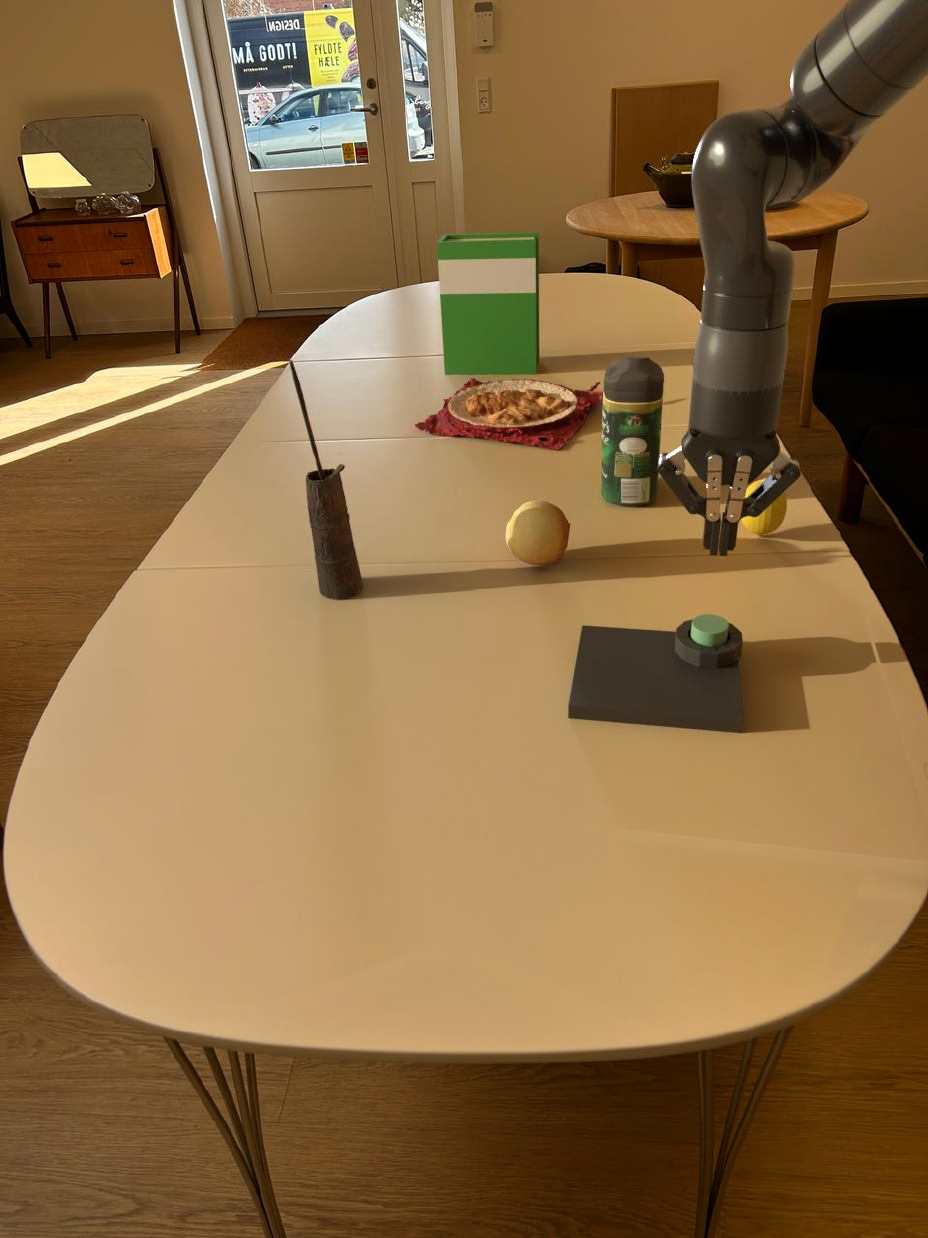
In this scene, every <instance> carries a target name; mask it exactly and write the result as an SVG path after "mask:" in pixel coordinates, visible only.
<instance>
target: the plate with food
mask: <svg viewBox="0 0 928 1238" xmlns="http://www.w3.org/2000/svg"><path fill="white" fill-rule="evenodd" d="M599 385H601V381H598V382H595V383H594V385H592V386H590V388H589V389H587V391H586V390H580V389H579V390H578V389H575V390H574V391H573V388H570V387H567V386H565V385H562V384H556V383H552V382H548V381H543V380H540V379H538V380H535V379H531V378H530V379H528V378H527V379H525V378H524V379H521V378H520V379H516V378H515V379H506V380H494V381H491V380H489V381H487V382H483V381H479V380H476V378H475V377H471V378H470V380H467V382H466V383H464V385H463V386H462V387H461V388H460V389H458V390H456V391H455V393H453V395H452V396H450V397H448V398H443V402H444V403H443V405H442V408H441V409H440V410H439V411H438V412H437V413H434V414H433V413H432V414H429V415H428V417H427V418H426V419H425V418H424V419H423V421H420V422H417V423H416V424H415V423H414V427H415V428H417V429H418V430H420V432H423V431H424V430H425V432H426V433H427V432H428V435H439V436H444V437H452V438H453V437H454V436H461V437H466V438H480V439H484V440H488V441H489V440H490V441H491V440H493V441H496V442H500V443H505V444H506V443H517V444H519V445H520V446H525V445H526V446H532V447H534V446H536V447H538V448H543V449H545V450H548V449H549V450H553V451H557V450H561V449H562V447H563V446H564V445H566V443H567V441H568V440H570V439H571V438H572V437H573V435H574V434H575V433H576V432H577V430H578V429H579V428H581V426H582V425H583V424H584V422H585V420H586V417H587V414H586V413H584V412H583V411H589V410H590V409H596V407H597V406H598V405H599V404H600V402H601V398H603V390H602V391H595V390H596V389H597V388H598V386H599ZM593 391H594V392H593ZM590 392H592V393H590ZM540 438H546V440H541V439H540Z"/></svg>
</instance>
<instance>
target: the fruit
mask: <svg viewBox="0 0 928 1238" xmlns="http://www.w3.org/2000/svg"><path fill="white" fill-rule="evenodd" d="M570 530H571V522H569V519H567V517H566V515H565V513H564V511H563V510H562V509H561V508H560V507H558V506H557V505H556V504H553V503H551V502H550V501H544V500H530V501H526V502H524V503H523V504H521V506H520V507H518V508H517V509H516V510H515V511H514V513H513V514H512V517H511V518H510V519H509V520H508V522H507V525H506V529H505V543H506V545H507V547H508V549H509V550H510V552H511V553H512V555H514V557H515V558H516V559H518V560H519V561H521V562H523V563H526V564H528V565H532V566H546V565H548V566H549V565H551V564H552V565H553V564H554V565H555V564H556V562H557V561H558V562H559V561H560V559H561V558H562V557H563V556H564V555H565V553H566V550H567V548H568V545H569V540H570V539H569V538H570Z"/></svg>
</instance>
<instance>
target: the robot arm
mask: <svg viewBox="0 0 928 1238" xmlns="http://www.w3.org/2000/svg"><path fill="white" fill-rule="evenodd" d="M927 78H928V0H847V1H846V3H844V5H843V6H841V8H840V9H839V10H838V11H837V12H836V13H835V14H834V15H833V16H832V18H830V20H828V21H827V23H826V24H825V25H824V26H823V27H822V28H821V29H820V30H819V31H818V32H817V34H815V35H814V36H813V38H812V39H811V40H810V41H809V42H808V43H807V45H806V46H805V47H804V48H803V50H802V51H801V52H800V54H799V56H798V57H797V59H796V60H795V63H794V64H793V68H792V70H791V75H790V92H791V96H790V97H789V98H788V99H787V100H785V101H784V102H783V103H782V104H780V105H778V106H770V107H762V108H754V109H746V110H737V111H732V112H729V113H726V114H723V115H722V116H721V115H720V116H719V117H718V118H717V119H716V120H714V121H713V122H712V123H711V124H710V125H709V127H707V129H706V130H705V132H704V133H703V134H702V137H701V138H700V140H699V142H698V145H697V148H696V150H695V154H694V157H693V162H692V167H691V168H692V169H691V193H692V199H693V206H694V207H693V208H694V213H695V218H696V225H697V229H698V237H699V244H700V250H701V253H702V254H701V255H702V258H703V259H702V260H703V265H704V279H703V290H702V299H701V300H702V301H701V311H700V312H701V313H700V321H699V329H698V332H697V337H696V340H695V347H694V357H693V360H692V379H691V390H690V391H691V392H690V403H689V417H688V428H687V431H686V432H685V434H684V435H683V437H682V438H681V442H680V446H679V447H678V448H676V449H674V450H673V451H671V452H670V453H668V452H662V453H660V455H659V458H658V472H659V475H660V477H661V478H662V479H663V481H664V482H665V483H666V485H667V487H668V488H669V489H670V490H671V491H672V493H673V495H675V496H676V498H677V500H678V501H679V502H680V503H681V505H682V506H683V507H684V509H685V510H686V511H687V513H688V514H689V515H699V516H701V517H703V519H704V524H703V532H702V545H703V549H704V550H707V551H708V550H709V556H712V557H714V556H715V557H718V556H719V557H728V552H733V551H734V550H735V548H736V546H737V537H738V536H737V535H738V529H739V523H740V521H741V519H742V518H744V517H747V516H750V517H758V516H759V515H760V514H761V513H762V512H763V511H764V510H765V509H767V508H768V507H769V506H770V505H771V504H772V503H773V502H774V501H775V500H776V499H777V498H778V497H779V496H780V495H781V494H782V493H783V492H786V491H787V490H788V489H789V488H790V487H791V486H792V485H794V483H795V482H796V481H798V479H799V478H800V477H801V474H802V472H801V467H800V462H799V460H798V459H797V458H796V457H794V456H788V455H787V454H785V452H783V451H782V450H781V444H780V440H779V437H778V435H777V429H778V425H779V415H780V408H781V402H782V401H781V400H782V395H783V386H784V380H785V373H786V365H787V357H788V349H789V321H790V313H791V307H792V306H791V305H792V298H793V289H794V283H795V282H794V281H795V273H796V258H795V255H794V253H793V251H792V249H790V247H788V246H787V245H786V244H783V243H781V242H778V241H774V240H769V239H768V233H767V226H766V210H771V209H772V210H773V209H776V208H777V209H778V208H781V207H787V206H791V205H793V204H796V203H799V202H800V201H803V200H804V199H806V198H807V197H809V196H810V195H812V194H813V193H815V192H817V191H818V190H819V189H820V188H821V187H823V186H824V185H825V184H826V183H828V181H830V180H831V178H833V176H834V175H835V174H836V173H837V171H838V170H839V169H840V168H841V167H842V165H843V164H844V163H845V161H847V159H848V157H849V156H850V155H851V154H852V153H853V152H854V150H855V148H857V146H858V145H859V143H860V142H861V140H862V139H863V138H864V136H865V135H866V133H867V131H868V129H870V127H871V126H872V125H873V124H875V123H876V122H877V121H878V120H880V119H881V118H882V117H883V116H884V115H886V114H887V113H888V112H889V111H890V110H891V109H893V108H894V107H895V106H896V105H897V104H899V103H900V102H901V101H902V100H903V99H904V98H905V97H906V96H908V95H909V94H910V93H912V91H913V90H915V89H916V87H918V86H919V85H920V84H921V83H922V82H924V80H925V79H927ZM685 460H686V461H687V462H688V464H689V465H690V467H691V468H692V470H693V471H694V472H695V474H696V475H697V477H698V478H699V479H700V481H701V482H703V483H705V487H706V490H705V496H706V497H705V496H702V495H700V493H699V492H698V491H697V489H696V488H695V486H694V485H693V484H692V482H691V480H689V478H688V477H687V476H686V474H685V472H686V463H685ZM770 465H771V466H770ZM769 466H770V467H769ZM768 467H769V469H770V470H769V471H770V474H769V475H768V476H767V477H765V478H766V479H765V480H764V481H763V482H762V483H761V484H760V485H759V486H758V487H757V488H756V489H755V490H754V491H753V492H752V493H751V494H750V495H749V496H748V497H747V498H745V494H746V489H747V488H748V486H749V485H751V484H752V483H754V482H755V480H756V479H758V477H759V476H760V475H761V474H762V473H763V472H764V471H765V470H767V468H768ZM723 486H728V491H727V497H726V502H725V508H724V511H722V515H721V498H722V487H723Z"/></svg>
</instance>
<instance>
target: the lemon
mask: <svg viewBox="0 0 928 1238" xmlns="http://www.w3.org/2000/svg"><path fill="white" fill-rule="evenodd" d="M766 478H767V477H764V478H762V479H757V480H756V481H755V480H754V481H753V482H752V483H750V484H749V485H748V486H747V489H746V494H745V498H747V497H748V496H749V495H750V494H751V493H752V492H753V491H754V490H755V489H756V488H757V487H758V486H759V485H760V484H761V483H762V482H763V481H764V480H765V479H766ZM787 501H788V500H787V495H786V491H784V492H783V493H782V494H781V495H780V496H779V497H778V498H777V499H776V500H775V501H774V502H773V503H772V504H771V505H770V506H769V507H768V508H767V509H765V510H764V511H763V512H762V513H761V514H760V515H759V516H758V517H750V516H747V517H744V518H742V519H741V520H740V521H741V523H742V525H743V527H745V529H746V530H748V531H749V532H750V533H752V534H754V535H755V536H756V537H758V538H761V537H763V536H765V535H768V534H771V533H773V532H775V531H777V530H778V529H779V528H780V526H781V525H782V524H783V523H784V520H785V517H786V514H787V510H788V502H787Z"/></svg>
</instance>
